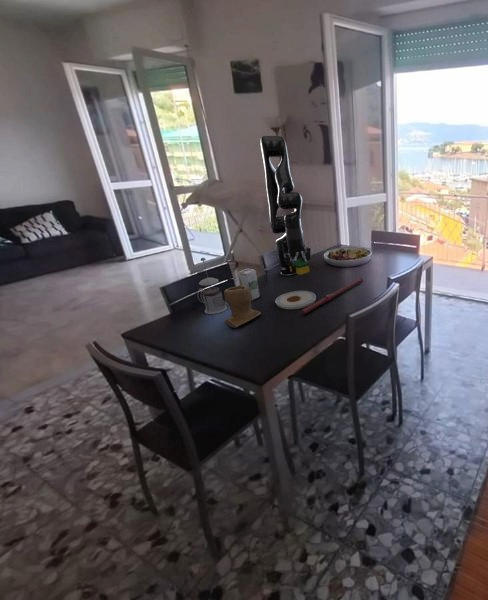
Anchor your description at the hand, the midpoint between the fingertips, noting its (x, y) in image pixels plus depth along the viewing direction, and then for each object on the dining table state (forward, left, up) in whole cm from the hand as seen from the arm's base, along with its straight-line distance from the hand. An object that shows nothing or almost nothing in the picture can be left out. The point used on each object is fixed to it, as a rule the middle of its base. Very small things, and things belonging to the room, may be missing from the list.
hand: (299, 271), depth 172 cm
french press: (-19, -36, -13) cm, 42 cm away
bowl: (-24, +51, -13) cm, 58 cm away
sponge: (0, 0, 0) cm, 0 cm away
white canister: (-18, -18, -13) cm, 28 cm away
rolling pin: (+14, +9, -13) cm, 21 cm away
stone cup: (+1, -33, -13) cm, 35 cm away
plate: (+2, -6, -13) cm, 14 cm away
